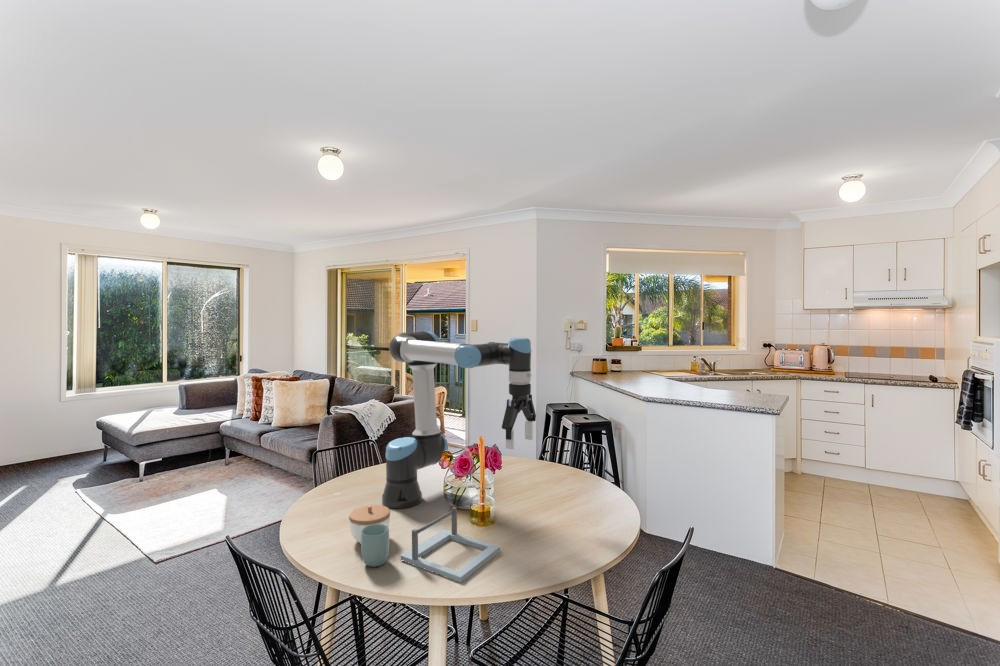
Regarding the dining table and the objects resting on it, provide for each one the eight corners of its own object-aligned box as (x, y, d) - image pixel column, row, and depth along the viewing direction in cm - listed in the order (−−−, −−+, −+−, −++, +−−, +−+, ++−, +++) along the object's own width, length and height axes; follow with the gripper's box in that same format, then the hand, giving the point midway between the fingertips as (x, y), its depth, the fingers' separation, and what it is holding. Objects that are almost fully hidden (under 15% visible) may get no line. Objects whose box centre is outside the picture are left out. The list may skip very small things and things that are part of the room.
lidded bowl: (369, 554, 146) (368, 518, 145) (341, 543, 152) (340, 509, 152) (398, 537, 156) (398, 503, 156) (371, 528, 163) (370, 496, 162)
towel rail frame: (400, 560, 142) (400, 526, 141) (443, 533, 159) (443, 503, 158) (460, 582, 130) (460, 546, 130) (500, 551, 147) (500, 519, 146)
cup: (382, 571, 136) (381, 536, 135) (356, 568, 137) (356, 534, 137) (393, 557, 143) (393, 524, 143) (369, 555, 145) (368, 522, 144)
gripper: (511, 388, 154) (511, 454, 155) (545, 379, 175) (545, 437, 176) (491, 386, 158) (491, 451, 159) (527, 377, 179) (526, 434, 180)
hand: (519, 443), depth 167 cm, fingers open, 13 cm apart
